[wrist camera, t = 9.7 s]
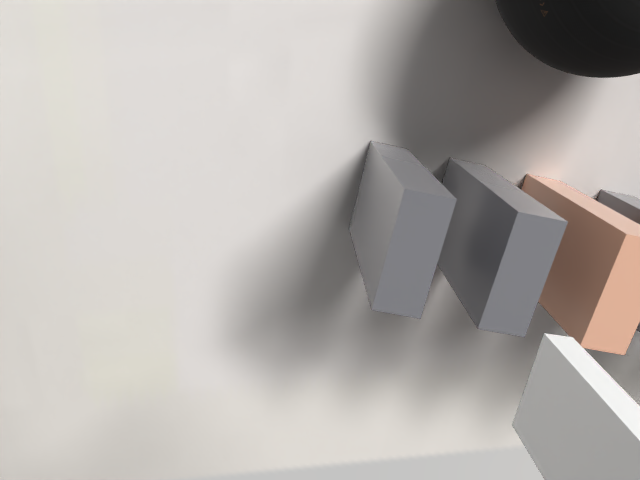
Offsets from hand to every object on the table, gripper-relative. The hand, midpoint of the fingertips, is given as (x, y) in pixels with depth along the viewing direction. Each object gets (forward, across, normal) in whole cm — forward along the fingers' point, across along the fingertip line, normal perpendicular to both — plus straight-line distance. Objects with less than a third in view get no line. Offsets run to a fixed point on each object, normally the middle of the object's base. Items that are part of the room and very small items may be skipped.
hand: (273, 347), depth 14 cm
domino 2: (+18, +10, 0) cm, 21 cm away
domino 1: (+18, +6, 0) cm, 19 cm away
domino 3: (+18, +14, 0) cm, 23 cm away
